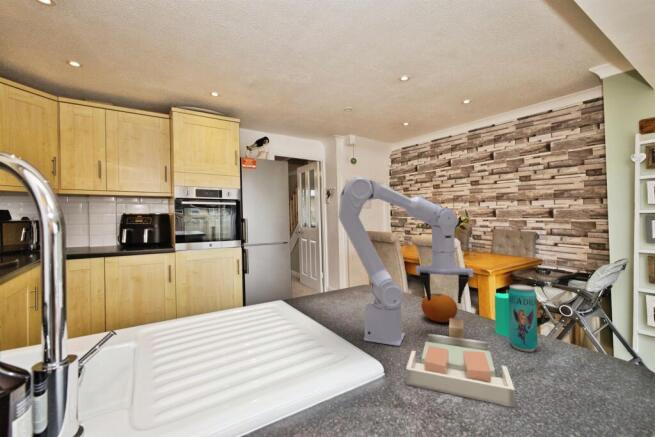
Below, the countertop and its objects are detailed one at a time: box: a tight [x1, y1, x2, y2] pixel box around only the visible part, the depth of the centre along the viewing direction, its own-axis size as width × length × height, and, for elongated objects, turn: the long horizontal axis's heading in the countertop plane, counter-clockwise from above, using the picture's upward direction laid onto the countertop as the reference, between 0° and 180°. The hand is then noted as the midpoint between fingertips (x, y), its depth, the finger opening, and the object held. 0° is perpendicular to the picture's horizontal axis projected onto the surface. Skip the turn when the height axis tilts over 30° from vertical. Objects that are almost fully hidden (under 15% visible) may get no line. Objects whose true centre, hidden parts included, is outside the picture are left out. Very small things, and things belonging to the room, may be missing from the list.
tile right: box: [463, 351, 491, 382], centre depth 58 cm, size 4×5×2 cm
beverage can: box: [507, 284, 538, 353], centre depth 71 cm, size 6×6×15 cm
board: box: [421, 341, 496, 377], centre depth 64 cm, size 14×10×2 cm
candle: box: [494, 292, 509, 338], centre depth 80 cm, size 6×6×12 cm
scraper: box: [427, 318, 488, 351], centre depth 73 cm, size 13×8×6 cm, turn 66°
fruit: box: [421, 292, 458, 323], centre depth 91 cm, size 11×10×8 cm
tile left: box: [424, 345, 449, 374], centre depth 60 cm, size 4×5×2 cm
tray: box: [405, 350, 516, 409], centre depth 56 cm, size 18×8×3 cm, turn 66°
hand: (444, 301), depth 79 cm, fingers open, 7 cm apart
